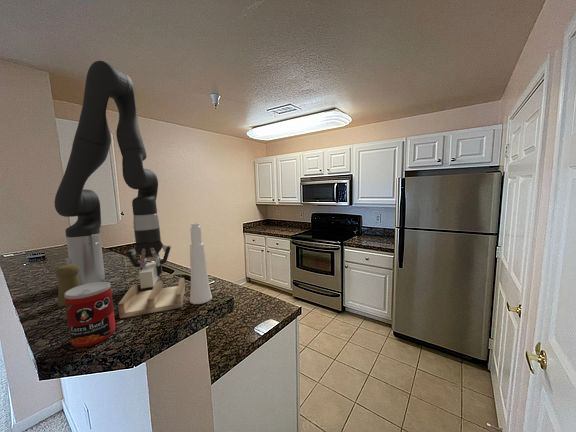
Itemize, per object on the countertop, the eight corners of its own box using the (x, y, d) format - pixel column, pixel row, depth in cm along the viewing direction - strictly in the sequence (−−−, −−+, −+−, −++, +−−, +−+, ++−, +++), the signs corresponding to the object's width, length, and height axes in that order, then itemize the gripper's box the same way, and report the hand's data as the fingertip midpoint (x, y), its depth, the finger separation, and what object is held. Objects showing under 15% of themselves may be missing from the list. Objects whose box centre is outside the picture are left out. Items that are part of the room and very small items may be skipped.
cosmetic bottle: (201, 293, 74) (196, 221, 72) (216, 297, 71) (211, 222, 69) (185, 302, 69) (178, 224, 67) (200, 306, 66) (193, 225, 64)
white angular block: (140, 288, 76) (139, 273, 76) (148, 276, 87) (147, 263, 87) (153, 286, 77) (151, 271, 77) (159, 275, 89) (158, 261, 88)
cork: (83, 295, 76) (79, 261, 75) (86, 301, 72) (81, 264, 71) (57, 301, 72) (52, 265, 71) (58, 308, 68) (52, 269, 67)
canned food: (64, 352, 48) (56, 299, 47) (79, 331, 55) (73, 285, 54) (110, 341, 51) (104, 291, 50) (119, 323, 58) (114, 279, 57)
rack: (119, 318, 61) (118, 304, 60) (133, 296, 74) (132, 284, 74) (182, 307, 66) (180, 294, 65) (185, 288, 79) (184, 277, 78)
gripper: (171, 224, 89) (175, 270, 91) (126, 228, 84) (131, 276, 86) (168, 227, 82) (173, 276, 84) (119, 231, 77) (125, 283, 79)
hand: (152, 276), depth 85 cm, fingers closed on white angular block, 3 cm apart
